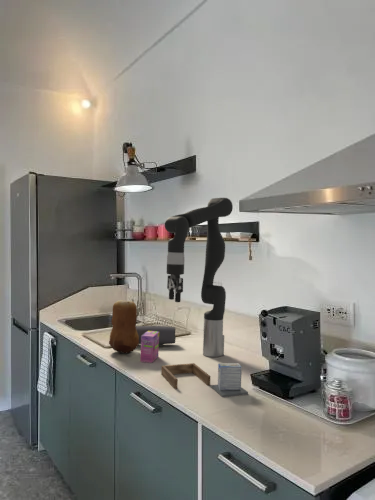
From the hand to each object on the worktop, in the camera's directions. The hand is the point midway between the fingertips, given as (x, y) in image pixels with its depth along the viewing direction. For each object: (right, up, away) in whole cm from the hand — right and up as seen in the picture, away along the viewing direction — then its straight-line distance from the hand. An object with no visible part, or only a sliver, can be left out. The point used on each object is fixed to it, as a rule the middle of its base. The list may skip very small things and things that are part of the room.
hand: (174, 300), depth 178 cm
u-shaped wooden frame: (+5, -29, -18) cm, 34 cm away
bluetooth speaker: (-12, -27, +35) cm, 46 cm away
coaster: (+21, -29, -28) cm, 45 cm away
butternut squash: (-25, -27, +19) cm, 42 cm away
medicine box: (+21, -29, -28) cm, 45 cm away
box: (-12, -28, +9) cm, 32 cm away
